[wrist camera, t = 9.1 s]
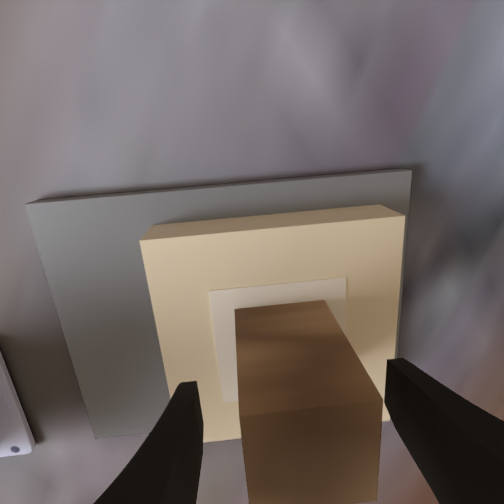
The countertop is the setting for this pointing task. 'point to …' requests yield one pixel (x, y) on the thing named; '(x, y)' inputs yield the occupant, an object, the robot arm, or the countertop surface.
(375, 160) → the countertop surface
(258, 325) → the walnut block
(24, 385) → the countertop surface
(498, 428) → the robot arm
